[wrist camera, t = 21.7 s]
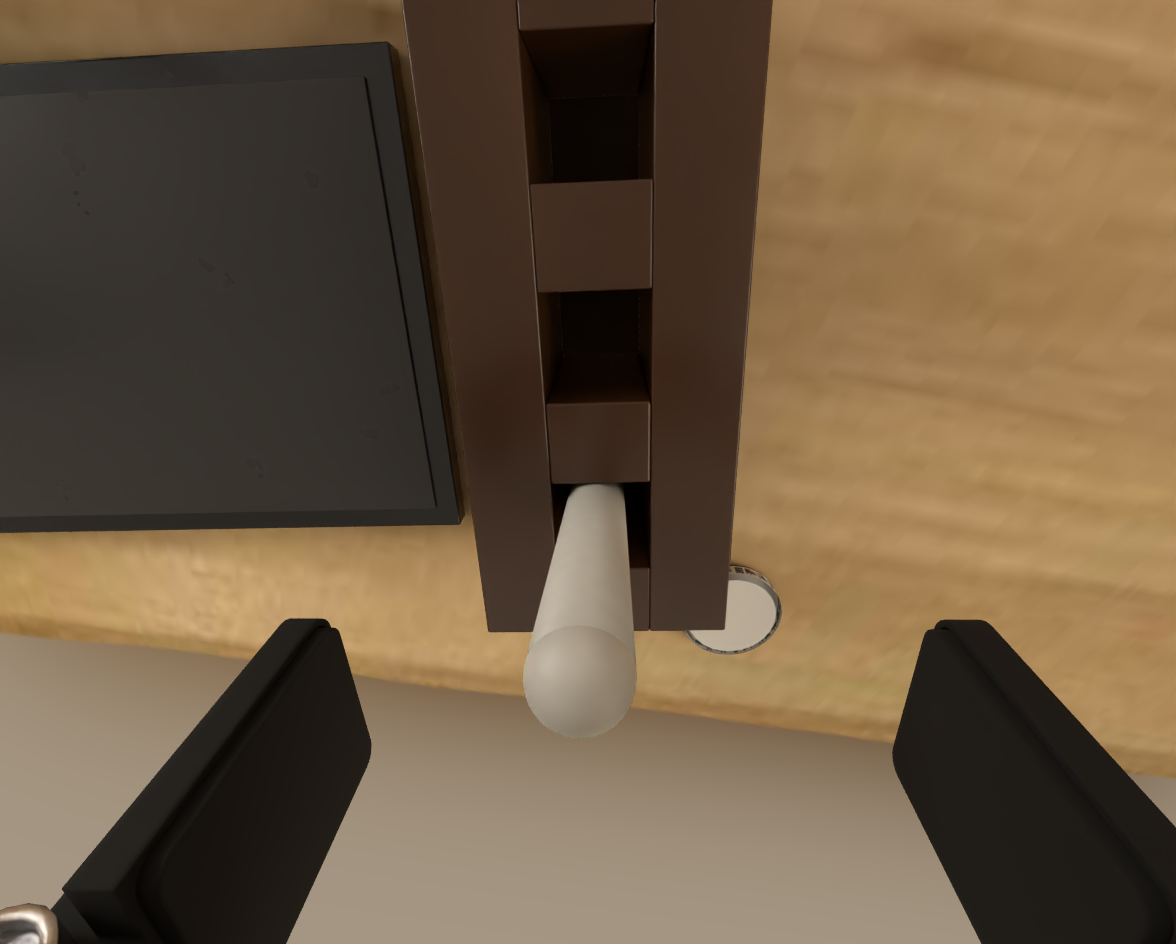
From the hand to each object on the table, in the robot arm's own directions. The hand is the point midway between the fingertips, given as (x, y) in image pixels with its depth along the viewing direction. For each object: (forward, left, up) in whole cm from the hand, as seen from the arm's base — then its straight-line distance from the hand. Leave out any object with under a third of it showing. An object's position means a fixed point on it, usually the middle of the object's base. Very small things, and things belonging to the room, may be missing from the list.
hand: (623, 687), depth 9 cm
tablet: (+17, -4, -12) cm, 21 cm away
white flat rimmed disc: (-5, +8, -12) cm, 15 cm away
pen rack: (0, -4, -12) cm, 13 cm away
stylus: (+1, +1, -12) cm, 12 cm away
